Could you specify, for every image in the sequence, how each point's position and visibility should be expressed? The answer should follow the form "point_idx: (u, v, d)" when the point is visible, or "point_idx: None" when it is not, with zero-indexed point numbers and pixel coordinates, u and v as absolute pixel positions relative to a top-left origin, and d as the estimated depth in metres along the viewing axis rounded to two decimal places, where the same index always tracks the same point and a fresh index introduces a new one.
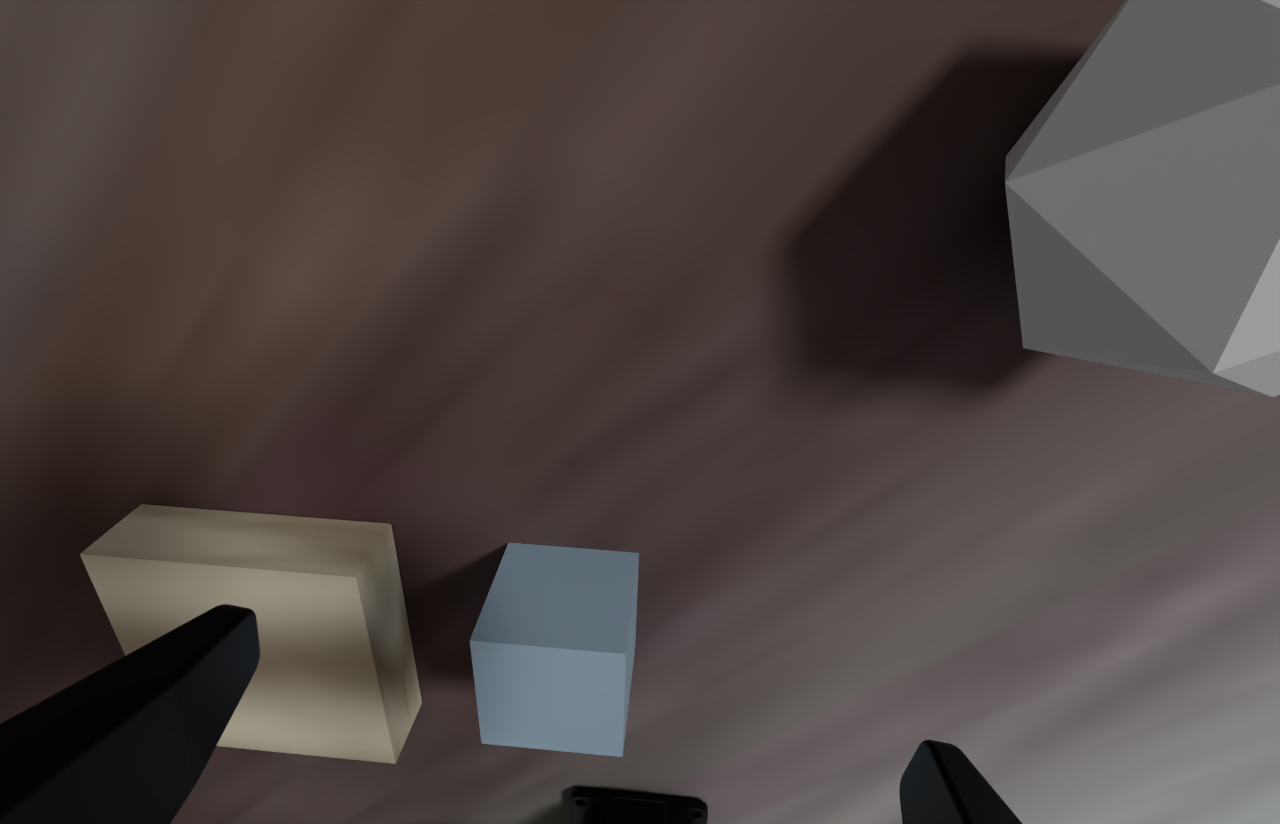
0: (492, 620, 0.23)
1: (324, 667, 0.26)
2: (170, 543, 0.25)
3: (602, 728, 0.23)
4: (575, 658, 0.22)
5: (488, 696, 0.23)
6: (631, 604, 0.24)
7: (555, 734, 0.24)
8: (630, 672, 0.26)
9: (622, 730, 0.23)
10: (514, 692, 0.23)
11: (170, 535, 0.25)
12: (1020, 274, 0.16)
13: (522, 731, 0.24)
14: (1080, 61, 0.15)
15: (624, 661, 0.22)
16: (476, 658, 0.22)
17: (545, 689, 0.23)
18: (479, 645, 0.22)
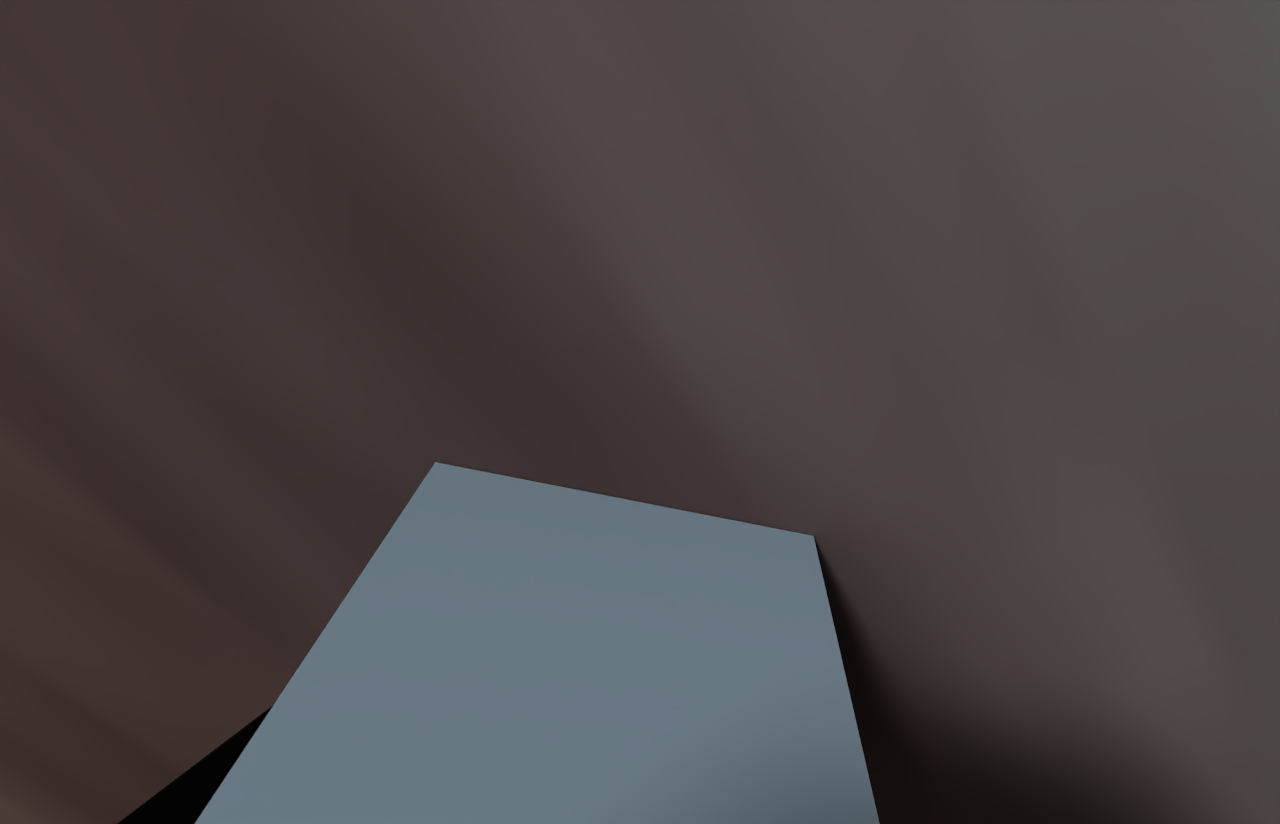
0: None
1: None
2: None
3: None
4: None
5: None
6: (336, 618, 0.06)
7: None
8: (724, 662, 0.07)
9: None
10: None
11: None
12: None
13: None
14: None
15: None
16: None
17: None
18: None
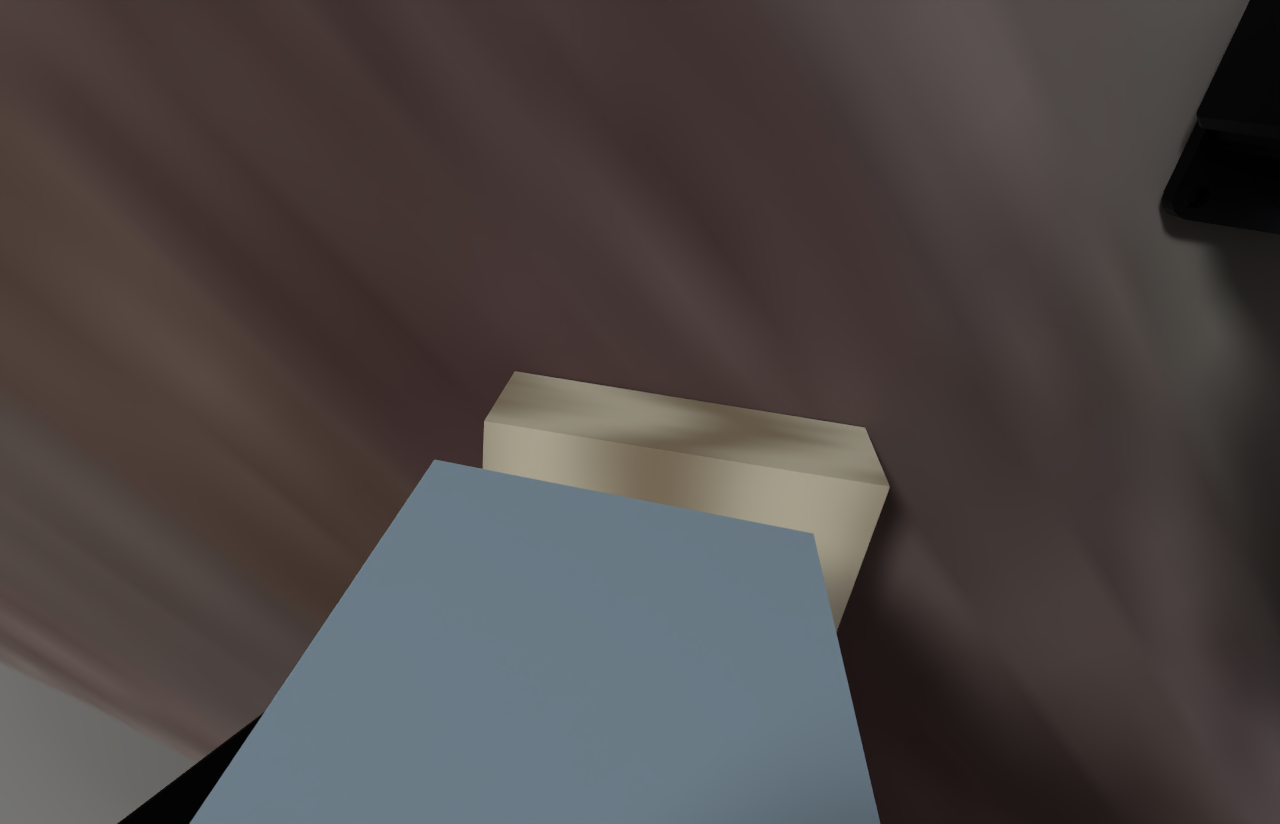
0: None
1: None
2: None
3: None
4: None
5: None
6: (335, 615, 0.06)
7: None
8: (723, 659, 0.07)
9: None
10: None
11: None
12: None
13: None
14: None
15: None
16: None
17: None
18: None
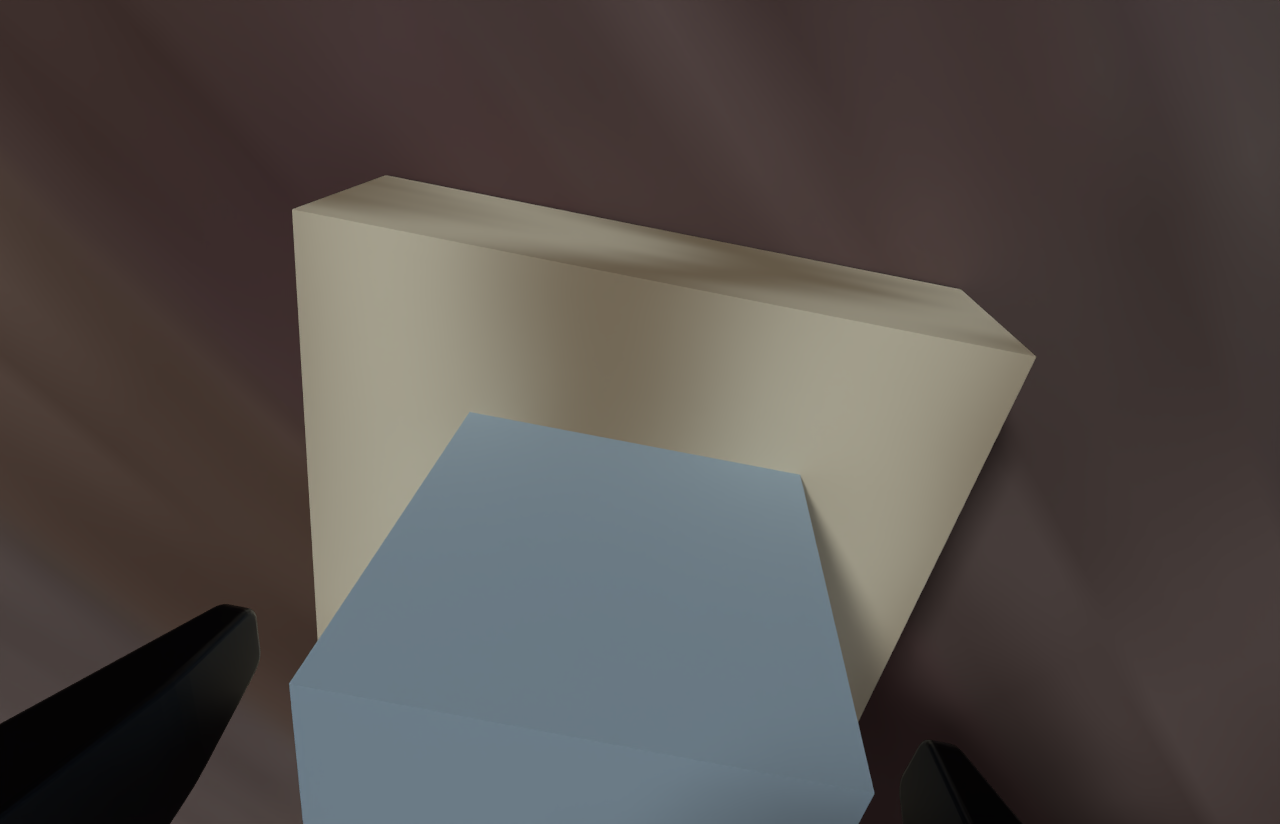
0: None
1: (613, 408, 0.10)
2: None
3: (690, 813, 0.06)
4: (338, 806, 0.06)
5: None
6: (398, 526, 0.08)
7: None
8: (721, 565, 0.08)
9: (715, 763, 0.06)
10: None
11: None
12: None
13: None
14: None
15: (325, 694, 0.06)
16: None
17: None
18: None
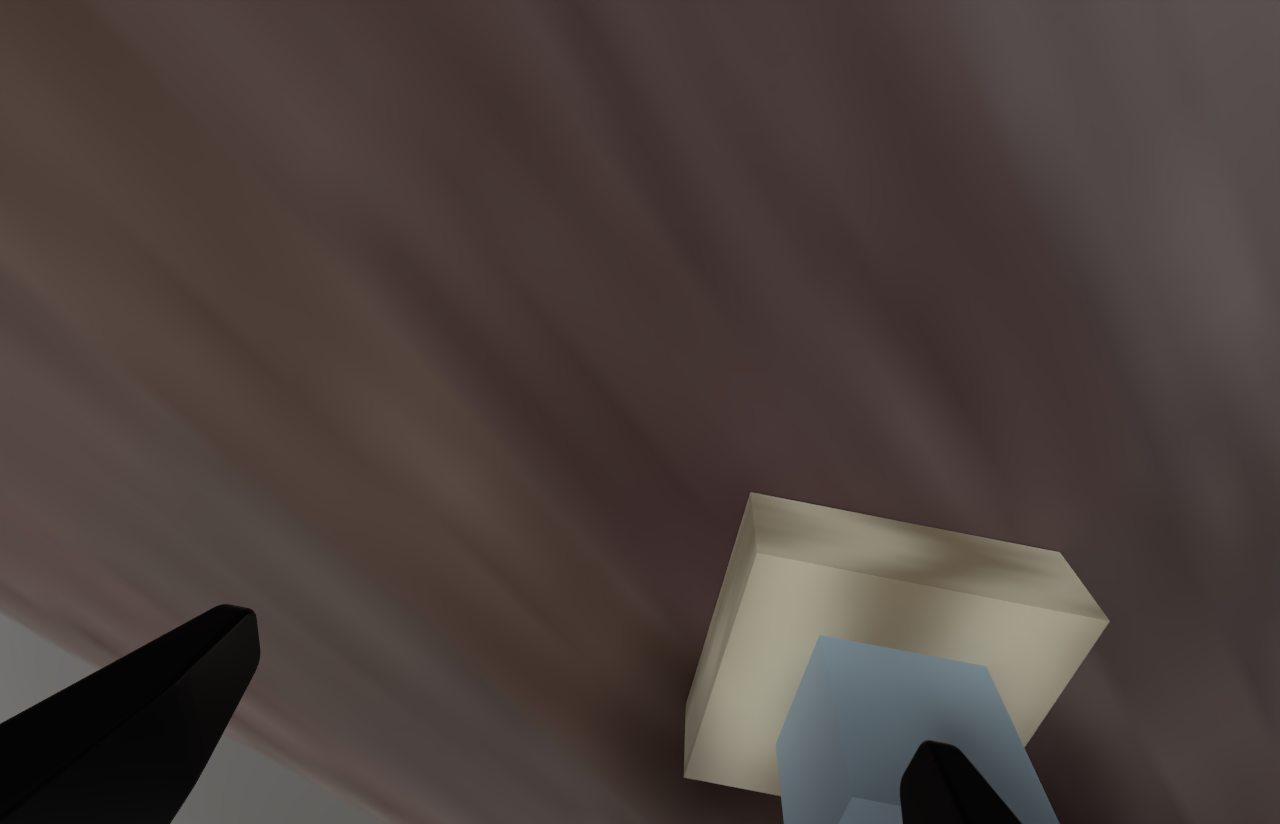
0: None
1: (894, 635, 0.20)
2: (700, 702, 0.23)
3: None
4: None
5: None
6: (836, 715, 0.18)
7: None
8: (973, 729, 0.18)
9: None
10: None
11: (698, 699, 0.24)
12: None
13: None
14: None
15: (864, 800, 0.16)
16: None
17: None
18: None
